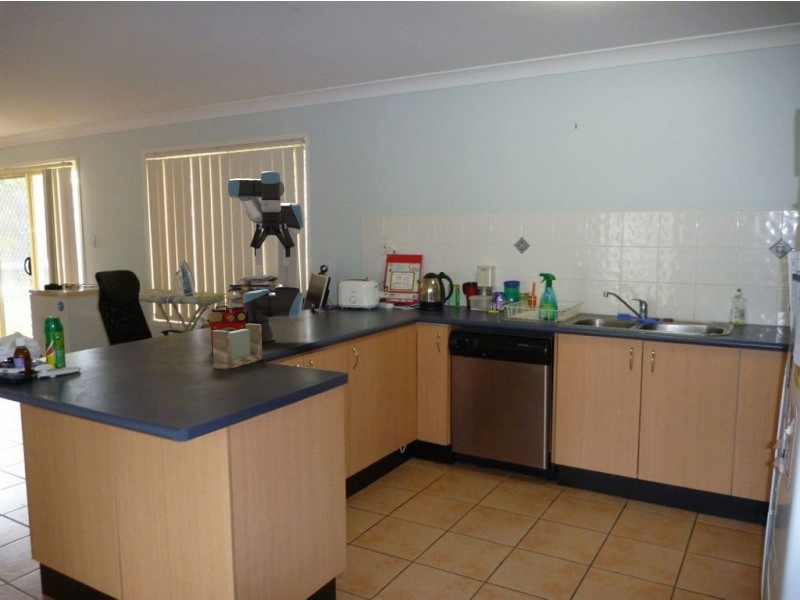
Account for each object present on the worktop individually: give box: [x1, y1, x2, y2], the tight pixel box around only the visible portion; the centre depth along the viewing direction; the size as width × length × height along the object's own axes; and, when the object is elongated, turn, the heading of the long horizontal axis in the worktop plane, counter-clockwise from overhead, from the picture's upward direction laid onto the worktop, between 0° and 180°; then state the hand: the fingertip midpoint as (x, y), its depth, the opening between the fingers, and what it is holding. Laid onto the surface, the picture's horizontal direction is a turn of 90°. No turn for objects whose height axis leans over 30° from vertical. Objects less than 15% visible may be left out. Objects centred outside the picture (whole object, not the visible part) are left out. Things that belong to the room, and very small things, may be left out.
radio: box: [208, 304, 249, 356], centre depth 259 cm, size 16×10×20 cm, turn 105°
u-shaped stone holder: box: [212, 323, 263, 371], centre depth 239 cm, size 20×6×14 cm, turn 153°
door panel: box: [229, 329, 250, 361], centre depth 239 cm, size 10×3×12 cm, turn 153°
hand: (272, 265), depth 250 cm, fingers open, 13 cm apart
